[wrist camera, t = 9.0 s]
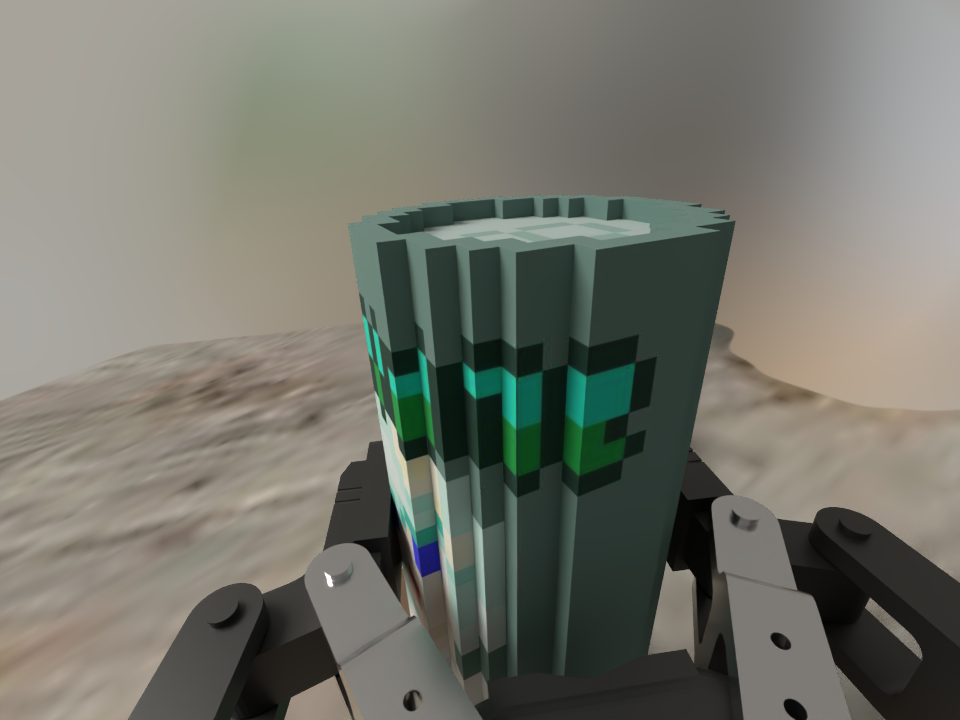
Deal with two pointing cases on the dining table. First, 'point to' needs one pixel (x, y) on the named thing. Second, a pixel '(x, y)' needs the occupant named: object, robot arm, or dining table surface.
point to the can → (538, 415)
